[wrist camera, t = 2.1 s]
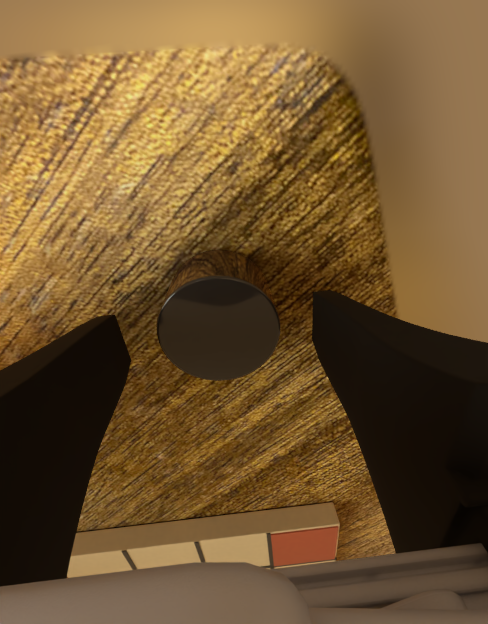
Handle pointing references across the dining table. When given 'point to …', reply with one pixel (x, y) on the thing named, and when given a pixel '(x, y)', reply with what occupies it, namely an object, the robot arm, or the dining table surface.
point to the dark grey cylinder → (218, 317)
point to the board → (213, 541)
